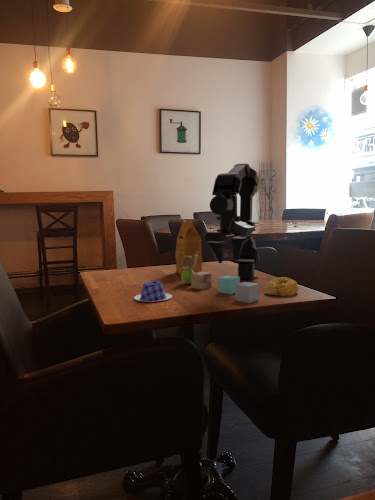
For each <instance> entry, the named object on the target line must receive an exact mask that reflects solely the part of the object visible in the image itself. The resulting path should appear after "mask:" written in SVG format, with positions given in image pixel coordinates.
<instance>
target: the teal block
mask: <svg viewBox="0 0 375 500" xmlns="http://www.w3.org/2000/svg"><path fill="white" fill-rule="evenodd" d="M239 283H241V279H240V277H238V275H229V274H228V275H223V276H220V277H218V293H222V294H227V295H232V294H233V295H234V294H236V287H235V285H236V284H239Z"/></svg>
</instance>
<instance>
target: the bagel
mask: <svg viewBox="0 0 375 500" xmlns="http://www.w3.org/2000/svg"><path fill="white" fill-rule="evenodd" d="M298 291H299V285H298V283H297V281H296V280H294V279H292V278H289V277H286V276H281V277H275V278H273V279H271V280H270V281H269V282H268V283H267V285H266V286H265V289H264V292H265V294H266V295H267V294H268V296H275V295H276V296H281V297H290V296H294V295H296V294H297V293H298ZM276 296H275V297H276Z"/></svg>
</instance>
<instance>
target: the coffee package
mask: <svg viewBox="0 0 375 500" xmlns="http://www.w3.org/2000/svg"><path fill="white" fill-rule="evenodd" d="M195 225H196V222H195V221H193V220H190V221H187V220H186V219H183V221H182V223H181V225H180V229H179V232H178V234H177V238H176V246H175V264H176V265H175V271H176V273H177V274H178V275H179V276H181V275H182V272H183V271H184V270H185V269H183V268H182V266H183V264H182V258H183V257H184V256H191V257H192V258H193V260H194V259H195V257H194V256H195V255H196V254H197V251H198V254H197V255H198V260H197V264H196V266H195V268H193V269H191V270H193V271H194V272H195V273H197V272H203V257H202V252H203V251H202V250H203V249H202V238H201V236H200V234H199V232H198V230H196V227H195Z"/></svg>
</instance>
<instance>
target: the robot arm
mask: <svg viewBox="0 0 375 500" xmlns="http://www.w3.org/2000/svg"><path fill="white" fill-rule="evenodd" d="M259 182H260V178H259V176H258V172H257V171H256V170H255V169H254V168H252V167H250V164H249V163H247V162H246V163H236V164H234V166H233V168H231V169H230V170H229V171H228V172H225V173H224V172H223V173H219V174H218V175H217V176H216V178H215V180H214V183H213V184H214V185H213V188H212V189H213V190H212V194H211V195H212V196H213V197H212V198H211V200H210V202H209V208H210V211H211V212H212V213H214V214H215V215H217V216H216V220H217V221H219V229H216V231H213V230H212V231H206V232H205V233H204V235H203V242H206V245H207V244H208V245H209V247H210V249H211V251H212V252H213V254H214V256H215V258H216V260H217V262H218V264H222V263H223V260H224V258H223V256H224V247H225V245H226V244H227V243H228V242H227V241H226V240H227V238H228V239H230V242H231V246H232V256H233V263H234V264H236V263H238V264H237V266H238V267H237V276H238V277H240V280H245V281H251V280H252V281H253V280H255V279H258V278H259V276H256V275H255V264H260V255H259V251H258V248H257V246H256V244H257V243H256V241H255V239H254V238H253V235H252V234H253V232H256V224H255V223H256V222H255V221H253V198H254V197H255V194H256V193H257V191H258V186H259V184H260V183H259ZM238 195H239V197H240V200H239V201H240V202H239V205H240V206H239V215H238ZM218 215H219V216H218Z"/></svg>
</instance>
